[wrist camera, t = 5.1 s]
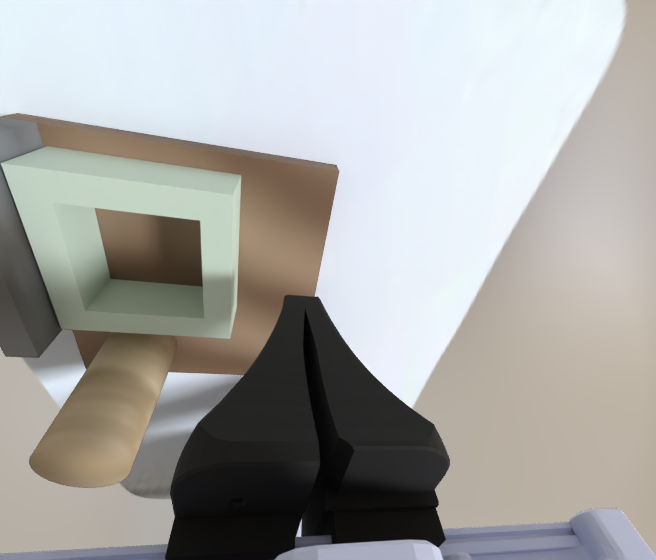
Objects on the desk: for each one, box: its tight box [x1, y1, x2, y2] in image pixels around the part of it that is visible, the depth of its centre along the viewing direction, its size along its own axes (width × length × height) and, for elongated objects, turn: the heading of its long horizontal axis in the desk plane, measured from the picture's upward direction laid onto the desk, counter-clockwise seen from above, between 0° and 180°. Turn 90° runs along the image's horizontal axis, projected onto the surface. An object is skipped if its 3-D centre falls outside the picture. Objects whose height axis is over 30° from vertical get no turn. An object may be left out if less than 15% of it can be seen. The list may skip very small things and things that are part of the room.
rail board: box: [0, 113, 339, 375], centre depth 16 cm, size 14×13×5 cm
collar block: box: [1, 146, 241, 339], centre depth 14 cm, size 7×7×2 cm
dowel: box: [29, 332, 177, 488], centre depth 16 cm, size 4×4×7 cm
